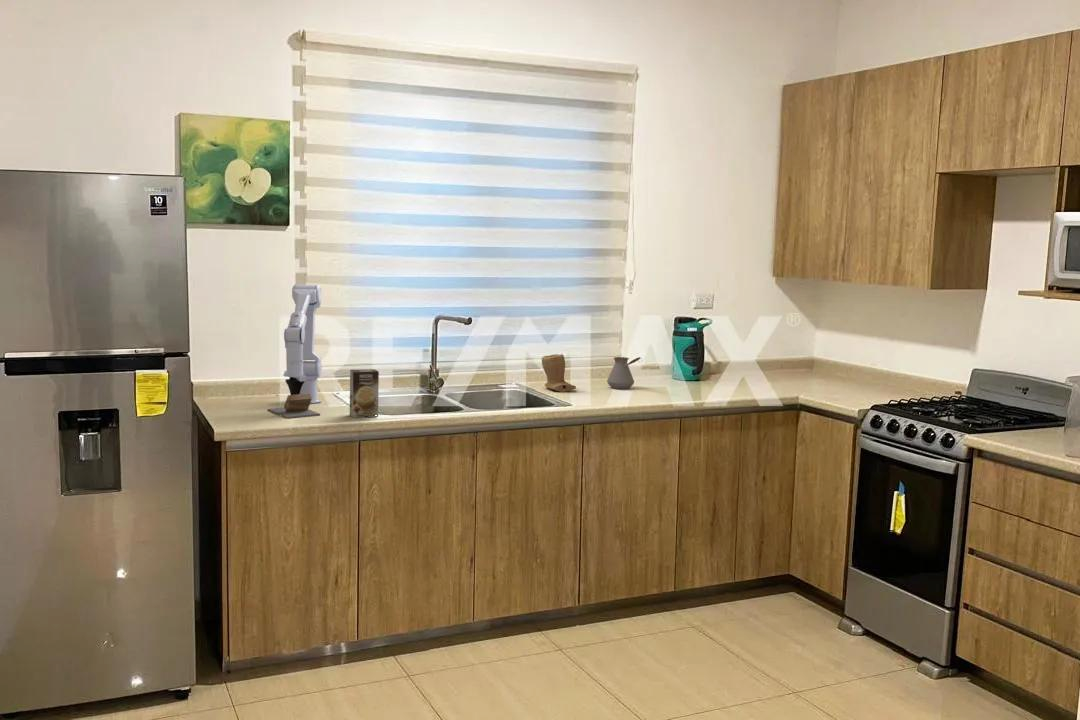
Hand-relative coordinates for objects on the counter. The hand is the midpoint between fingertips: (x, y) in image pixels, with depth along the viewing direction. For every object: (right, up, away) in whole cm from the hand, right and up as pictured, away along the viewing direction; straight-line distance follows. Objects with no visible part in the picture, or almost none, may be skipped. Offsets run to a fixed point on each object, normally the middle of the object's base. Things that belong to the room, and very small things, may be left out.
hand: (295, 399), depth 355 cm
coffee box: (+25, -6, -3) cm, 26 cm away
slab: (0, -3, 0) cm, 3 cm away
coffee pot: (+123, +1, +66) cm, 140 cm away
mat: (0, -5, -1) cm, 5 cm away
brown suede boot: (+94, +1, +62) cm, 112 cm away
